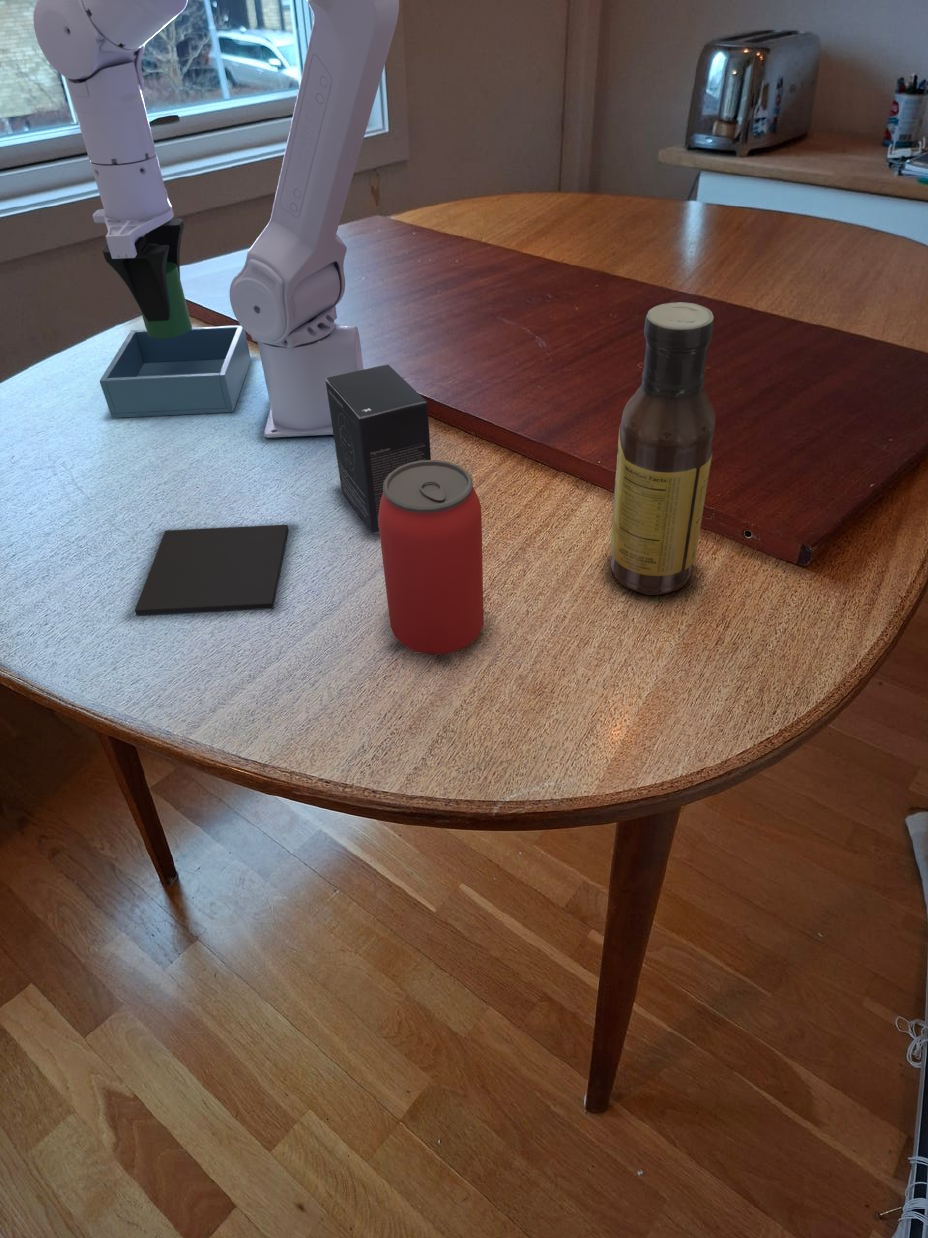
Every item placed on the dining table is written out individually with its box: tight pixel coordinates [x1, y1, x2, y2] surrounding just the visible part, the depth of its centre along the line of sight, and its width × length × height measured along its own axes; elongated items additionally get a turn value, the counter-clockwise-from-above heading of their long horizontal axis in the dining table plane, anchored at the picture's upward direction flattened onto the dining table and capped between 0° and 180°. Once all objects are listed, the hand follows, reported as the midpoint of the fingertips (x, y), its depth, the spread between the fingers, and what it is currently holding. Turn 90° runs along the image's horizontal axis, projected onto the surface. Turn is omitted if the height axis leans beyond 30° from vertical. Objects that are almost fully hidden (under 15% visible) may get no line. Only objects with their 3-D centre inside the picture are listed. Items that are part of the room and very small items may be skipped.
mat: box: [134, 524, 289, 616], centre depth 65 cm, size 10×10×1 cm
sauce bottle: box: [609, 301, 717, 596], centre depth 57 cm, size 6×6×20 cm
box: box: [325, 363, 432, 535], centre depth 68 cm, size 8×6×11 cm
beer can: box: [378, 459, 485, 656], centre depth 56 cm, size 7×7×12 cm
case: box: [99, 324, 252, 419], centre depth 88 cm, size 12×12×4 cm
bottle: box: [139, 244, 193, 339], centre depth 82 cm, size 4×4×8 cm
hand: (164, 309), depth 84 cm, fingers closed on bottle, 4 cm apart
